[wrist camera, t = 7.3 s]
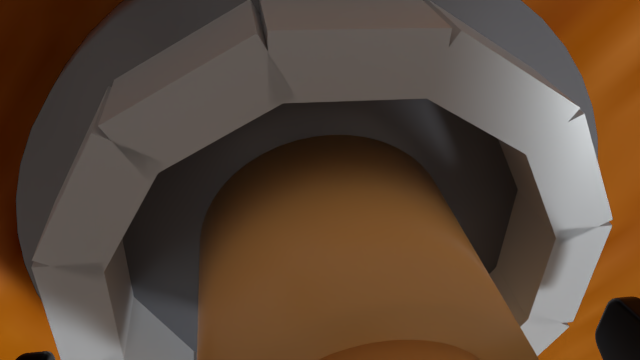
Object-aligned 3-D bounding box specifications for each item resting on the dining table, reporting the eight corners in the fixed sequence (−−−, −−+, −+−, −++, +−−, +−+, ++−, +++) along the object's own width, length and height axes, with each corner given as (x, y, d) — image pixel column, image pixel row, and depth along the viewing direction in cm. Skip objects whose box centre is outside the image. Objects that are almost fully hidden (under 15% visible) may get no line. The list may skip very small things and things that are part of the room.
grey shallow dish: (506, 359, 16) (551, 443, 14) (90, 404, 14) (70, 507, 12) (648, -67, 10) (765, -32, 8) (-53, -76, 8) (-145, -35, 6)
